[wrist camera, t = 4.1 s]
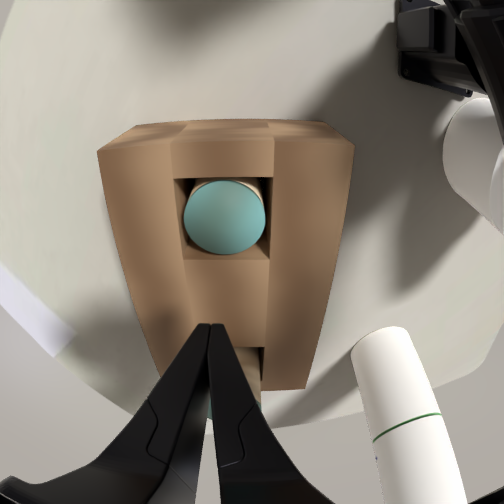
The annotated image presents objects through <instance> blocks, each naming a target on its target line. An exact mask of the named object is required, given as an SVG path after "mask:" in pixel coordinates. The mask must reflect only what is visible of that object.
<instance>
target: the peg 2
mask: <svg viewBox="0 0 504 504" xmlns="http://www.w3.org/2000/svg"><path fill="white" fill-rule="evenodd" d="M233 348H234V350H235V352H236V355H237V357H238V359H239V362H240V364H241V367H242V369H243V371H244V374H245V376H246V378H247V380H248V383H249V385H250V387H251V390H252V392H253V394H254V396H255V399H256V401H257V404H258V405H259V407H260V410H261V390H260V367H259V347H233ZM207 418H209V419H211V420H212V411H211V400H210V402H209V408H208V415H207Z"/></svg>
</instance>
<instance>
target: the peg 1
mask: <svg viewBox="0 0 504 504" xmlns="http://www.w3.org/2000/svg"><path fill="white" fill-rule="evenodd" d="M184 224H185V228H186V231H187V233H188V234H189V236H190V237H191V239H192V240H193V241H194V242H195V243H196V244H197V245H198V246H200V247H201V248H203V249H205V250H207V251H209V252H212V253H216V254H235V253H239V252H242V251H244V250H246V249H248V248H249V247H251V246H252V245H253V244H254V243H256V242H257V240H258V239H259V238H260V236H261V234H262V232H263V230H264V226H265V212H264V204H263V196H262V188H261V180H260V177H203V178H197V180H196V182H195V185H194V187H193V190H192V192H191V195H190V197H189V200H188V202H187V205H186V208H185V212H184Z"/></svg>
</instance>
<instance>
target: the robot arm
mask: <svg viewBox="0 0 504 504" xmlns="http://www.w3.org/2000/svg"><path fill="white" fill-rule="evenodd" d="M443 1H444V2H445V5H440V4H438V3H435V2H433V1H430V0H409V2H408V1H407V0H400V13H399V14H398V24H397V48H398V49H399V60H398V74H399V76H400V77H401V78H403V79H406V80H410V81H414V82H418V83H422V84H425V85H429V86H433V87H436V88H439V89H443V90H446V91H449V92H452V93H455V94H459V95H461V96H464V97H471V96H472V93H473V91H475V92H478V93H482V94H485V95H488V97H489V100H490V103H491V105H492V108H493V111H494V115H495V118H496V121H497V125H498V128H499V131H500V135H501V138H502V142H503V145H504V0H443ZM405 69H406V70H407V72H408V73H407V75H405V74H404V70H405ZM466 89H467V93H466ZM147 399H148V400H147ZM147 399H146V400H145V401H144V403H143V404H142V406H141V407H140V408H139V410H138V411H137V413H136V414H135V415H134V417H133V418H132V419H131V420H130V422H129V423H128V424H127V425H126V426H125V428H124V429H123V430H122V431H121V432H120V433H119V434H118V436H117V437H116V438H115V439H114V440H113V441H112V442H111V443H110V444H109V445H108V446H107V448H106V449H105V450H104V451H103V452H102V453H101V454H100V455H99V456H98V457H97V458H96V459H95V460H94V461H92V462H91V463H89V464H87V465H86V466H84V467H81V468H79V469H77V470H75V471H72V472H70V473H67V474H65V475H62V476H60V477H58V478H55V479H53V480H50V481H48V482H44V483H41V484H29V483H27V482H24V481H22V480H20V479H18V478H16V477H14V476H9V477H7V478H6V479H4V480H3V481H1V482H0V504H195V498H196V491H197V483H198V476H199V469H200V462H201V455H202V448H203V441H204V435H205V428H206V421H207V415H208V408H209V402H210V400H211V411H212V421H213V431H214V441H215V449H216V459H217V467H218V475H219V484H220V498H221V504H335V503H334V502H332V501H331V500H330V499H329V498H327V497H326V496H325V495H324V494H322V493H321V492H320V491H319V490H317V489H316V488H315V487H314V486H313V485H312V484H311V483H309V482H308V481H307V480H306V478H304V476H303V475H302V474H301V473H300V471H299V470H298V469H297V468H296V466H295V465H294V464H293V462H292V461H291V459H290V458H289V456H288V455H287V454H286V452H285V451H284V449H283V448H282V446H281V445H280V443H279V442H278V440H277V439H276V437H275V436H274V434H273V433H272V431H271V429H270V427H269V426H268V424H267V422H266V420H265V418H264V416H263V414H262V412H261V410H260V407H259V405H258V404H257V401H256V399H255V396H254V394H253V392H252V390H251V387H250V385H249V383H248V380H247V378H246V376H245V374H244V371H243V369H242V367H241V364H240V362H239V359H238V357H237V355H236V352H235V350H234V348H233V345H232V343H231V340H230V338H229V335H228V333H227V331H226V328H225V326H224V324H222V323H212V324H209V323H199V324H197V326H196V327H195V329H194V330H193V331H192V333H191V334H190V336H189V337H188V339H187V340H186V342H185V343H184V345H183V346H182V347H181V349H180V350H179V352H178V353H177V355H176V356H175V358H174V359H173V361H172V362H171V363H170V365H169V366H168V368H167V369H166V371H165V372H164V374H163V375H162V377H161V378H160V379H159V381H158V382H157V384H156V385H155V387H154V388H153V390H152V391H151V393H150V394H149V396H148V397H147ZM4 495H5V496H4ZM11 499H12V500H11ZM13 500H14V501H13ZM15 501H16V502H15ZM469 504H504V486H503V487H501V488H499V489H497V490H495V491H493V492H491V493H489V494H487V495H485V496H483V497H481V498H479V499H477V500H475V501H473V502H471V503H469Z"/></svg>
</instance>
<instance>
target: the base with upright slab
mask: <svg viewBox="0 0 504 504" xmlns="http://www.w3.org/2000/svg"><path fill="white" fill-rule="evenodd" d="M442 158H443V165H444V172H445V174H446V177H447V180H448V182H449V184H450V185H451V187H452V188H453V190H454V191H455V192H456V193H457V194H458V195H460V196H461V197H462V198H463V199H464V200H465V201H467V202H468V203H469V204H470V205H471V206H472V207H473V208H475V209H476V210H477V211H478V212H479V213H480V214H481V215H482V216H483V217H485V218H486V219H487V220H488V221H489V222H490V223H491V224H492V225H493V226H494V227H495V228H496V229H497V230H498V231H500V232H501V233H502V234H503V235H504V145H503V142H502V138H501V135H500V131H499V128H498V125H497V121H496V118H495V115H494V111H493V108H492V105H491V103H490V100H489V99H487V98H476V99H472V100H470V101H468V102H467V103H465V104H464V105H462V106H461V107H460V108H459V110H458V111H457V112H456V113H455V114H454V116H453V117H452V120H451V122H450V124H449V126H448V128H447V131H446V135H445V139H444V142H443V157H442Z"/></svg>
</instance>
